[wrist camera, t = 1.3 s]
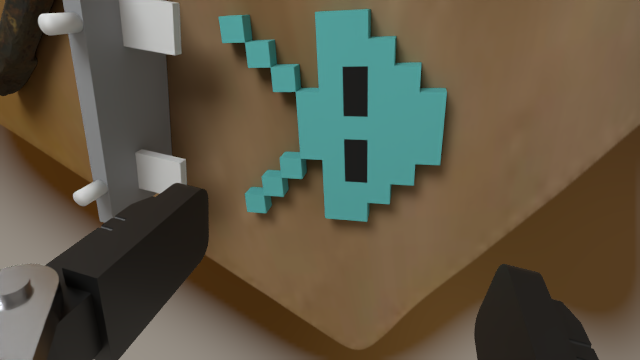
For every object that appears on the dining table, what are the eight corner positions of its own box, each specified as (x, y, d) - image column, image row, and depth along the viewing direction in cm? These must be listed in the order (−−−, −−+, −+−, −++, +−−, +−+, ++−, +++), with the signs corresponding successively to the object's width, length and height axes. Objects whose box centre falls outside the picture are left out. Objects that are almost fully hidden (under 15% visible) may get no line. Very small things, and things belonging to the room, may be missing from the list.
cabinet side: (209, -22, 34) (110, -31, 23) (211, 189, 44) (142, 252, 34) (146, -32, 35) (24, -44, 24) (162, 177, 45) (80, 234, 35)
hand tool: (49, -75, 36) (1, -83, 32) (83, -43, 37) (40, -48, 33) (0, 74, 45) (-42, 81, 41) (28, 97, 45) (-11, 107, 41)
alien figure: (255, 202, 44) (433, 215, 40) (247, 211, 42) (434, 227, 38) (229, 15, 36) (452, 5, 31) (218, 16, 34) (454, 5, 29)
